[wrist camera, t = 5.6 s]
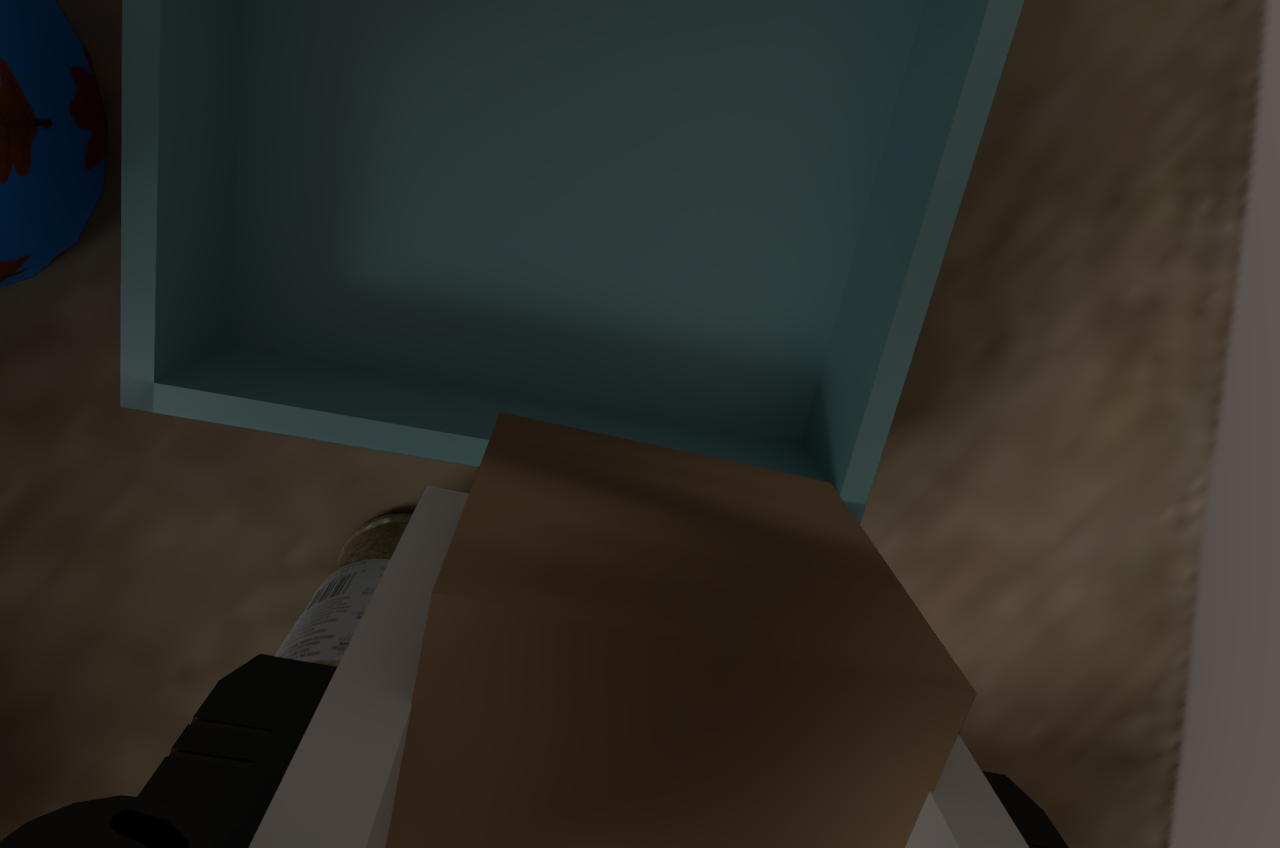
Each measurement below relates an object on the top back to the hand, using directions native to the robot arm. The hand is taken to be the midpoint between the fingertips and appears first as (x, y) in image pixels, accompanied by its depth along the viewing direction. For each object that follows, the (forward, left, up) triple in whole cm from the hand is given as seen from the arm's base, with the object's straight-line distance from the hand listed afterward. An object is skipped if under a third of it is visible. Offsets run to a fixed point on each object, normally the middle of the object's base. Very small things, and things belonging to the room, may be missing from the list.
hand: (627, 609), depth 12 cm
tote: (-2, +6, -15) cm, 16 cm away
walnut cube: (0, 0, 0) cm, 0 cm away
